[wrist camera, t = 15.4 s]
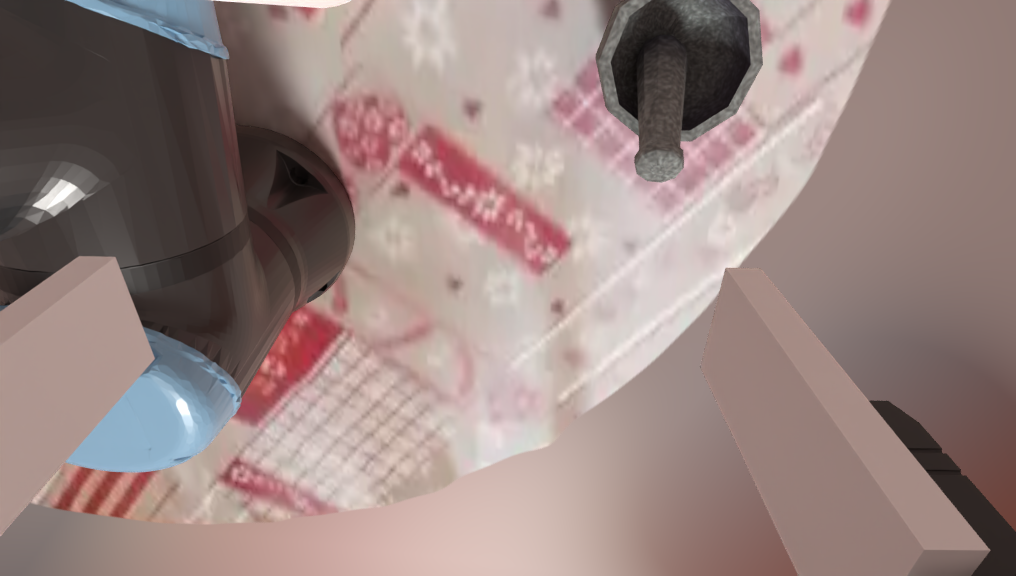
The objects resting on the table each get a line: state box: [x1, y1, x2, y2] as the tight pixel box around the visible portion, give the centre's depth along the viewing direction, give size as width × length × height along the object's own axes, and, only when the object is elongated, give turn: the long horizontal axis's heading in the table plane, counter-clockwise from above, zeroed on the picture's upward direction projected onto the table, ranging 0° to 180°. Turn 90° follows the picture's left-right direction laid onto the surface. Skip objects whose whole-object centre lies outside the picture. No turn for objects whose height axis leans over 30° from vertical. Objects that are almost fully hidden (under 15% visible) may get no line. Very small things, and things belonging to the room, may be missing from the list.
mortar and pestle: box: [596, 0, 763, 182], centre depth 34 cm, size 11×9×12 cm
